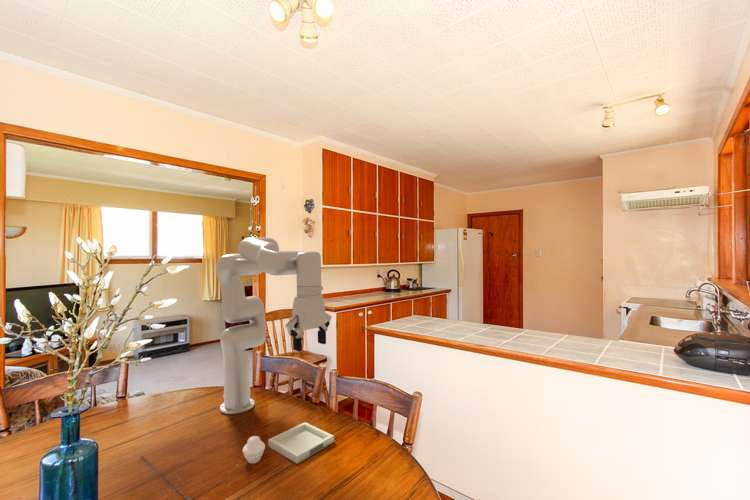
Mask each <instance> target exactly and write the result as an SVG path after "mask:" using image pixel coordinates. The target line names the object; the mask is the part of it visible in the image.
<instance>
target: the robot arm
mask: <svg viewBox="0 0 750 500" xmlns="http://www.w3.org/2000/svg"><path fill="white" fill-rule="evenodd" d="M237 248H238V249H237V250H238V253H229V254H224V255H221V256H220V257H219V258H218V259H217V262H216V268H215V272H216V275H217V276H216V277H217V279H218V282H219V287H220V291H221V294H220V295H221V305H222V316H223V319H224V321H225V322H226V323H229V324H235V323H241V322H248V321H249V323H246V324H240V325H235V326H230V327H228V328H226V329H224V330H223V331H222V332H221V333H220V337H219V341H220V347H221V351H222V358H223V362H222V363H223V394H222V397H223V403H221V404H220V406H219V411H220V412H221V413H223V414H226V415H236V414H241V413H245V412H247V411H249V410H251V409H253V407H254V406H255V400H254V399H253V398H251V374H250V373H251V367H250V365H251V364H250V363H251V362H250V359H249V356H247V354H246V353H245V351H244V350H247V349H251V348H255V347H259V346H261V345H263V344H264V343H265V342H266V339H267V323H266V310H265V304H264V302H263V300H262V298H260V297H259V296H255V295H250V296H246V293H245V286H244V284H243V281H242V280H241V279H240V278H239V276H254V275H260V274H263V273H266V274H268V275H270V276H278V277H279V276H293V275H294V276H295V275H296V296H294V297H293V298H294V299H293V303H292V310H291V311H292V314H291V319H290V320H289V321H288V322H286V324H285V328H286V330H287V333H288V334H289V335H290V337H291V338H292V347H293V351H296V352H302V351H303V344H302V343H303V342H302V341H303V340H302V337H301V336H302V334H303V332H304V331H308V330H312V329H316V328H317V329H318V330H317V343H318V344H322V345H326V344H327V331H328V328H329V326H330V324H331V323H330V322H331V319H332V316H331V315H330V314H329V313H326V308H325V307H326V306H325V300H324V294H322V291H323V290H324V286H322V257H321V256H322V255H321V254H320V252H318V251H303V250H302V251H301V250H289V251H288V250H285V251H284V250H282V251H280V246H279V243H278V242H277V240H275V239H274V238H272V237H254V236H253V237H247V238H244V239H242V240H241V241H240V242H239V244H238V246H237Z"/></svg>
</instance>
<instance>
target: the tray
mask: <svg viewBox="0 0 750 500" xmlns="http://www.w3.org/2000/svg"><path fill="white" fill-rule="evenodd" d="M333 443H335V435H333V434H331V433H329V432H327V431H325V430H323V429H320V428H318V427H317V426H314V425H312V424H310V423H308V422H307V421H306V422H305V421H304V422H302V423H300V424H298V425H296V426H293V427H291V428H290V429H288V430H285V431H283V432H281V433H279V434H277V435H275V436H273V437H271V438H268V440H267V445H268V447H269V448H270V449H272V450H274V451H276V452H277V453H278V454H280V455H282V456H284V457H285V458H287V459H288V460H290V461H292V462H293V463H295V464H299V463H301V462H303V461H305V460H306V459H308V458H310V457H312V456H313V455H315V454H317V453H319V452H320V451H321V449H322V450H323V449H325V448H327V447H329V446H331V445H332V444H333ZM328 445H329V446H328Z"/></svg>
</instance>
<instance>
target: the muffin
mask: <svg viewBox="0 0 750 500" xmlns="http://www.w3.org/2000/svg"><path fill="white" fill-rule="evenodd" d="M265 449H266V444H265V442H263V441H262V440H261V438H260V436H258V435H252V436H251V437H248V439H247V442H246V444H245V445H244V446H243V448H242V453H243V456H244V458H245V460H247V462H248V463H249V464H256V463H258V462H260V460H261V458H262V456H263V454H264V451H265Z"/></svg>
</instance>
